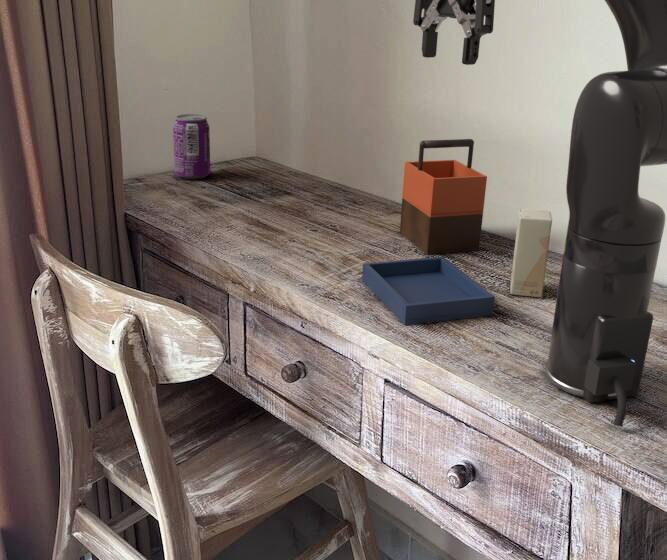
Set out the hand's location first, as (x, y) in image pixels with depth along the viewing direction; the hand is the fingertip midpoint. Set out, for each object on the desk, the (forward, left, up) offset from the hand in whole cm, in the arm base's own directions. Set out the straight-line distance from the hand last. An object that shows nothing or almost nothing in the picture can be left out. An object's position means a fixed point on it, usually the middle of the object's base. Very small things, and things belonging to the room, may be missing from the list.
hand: (448, 60), depth 120 cm
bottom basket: (+1, -1, -29) cm, 29 cm away
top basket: (+1, -1, -23) cm, 23 cm away
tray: (-20, +11, -29) cm, 37 cm away
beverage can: (+49, +31, -29) cm, 64 cm away
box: (-21, -4, -29) cm, 36 cm away
